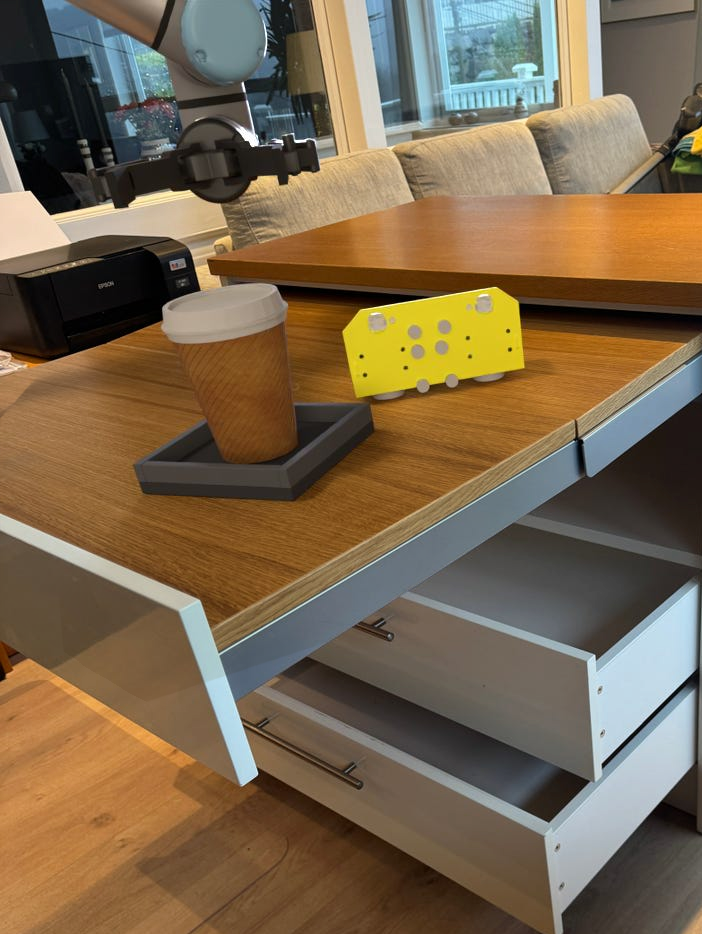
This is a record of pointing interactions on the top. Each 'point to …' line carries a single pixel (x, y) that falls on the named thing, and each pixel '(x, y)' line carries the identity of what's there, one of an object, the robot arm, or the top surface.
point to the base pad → (283, 478)
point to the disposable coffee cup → (238, 367)
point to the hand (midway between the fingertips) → (197, 178)
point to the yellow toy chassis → (433, 342)
